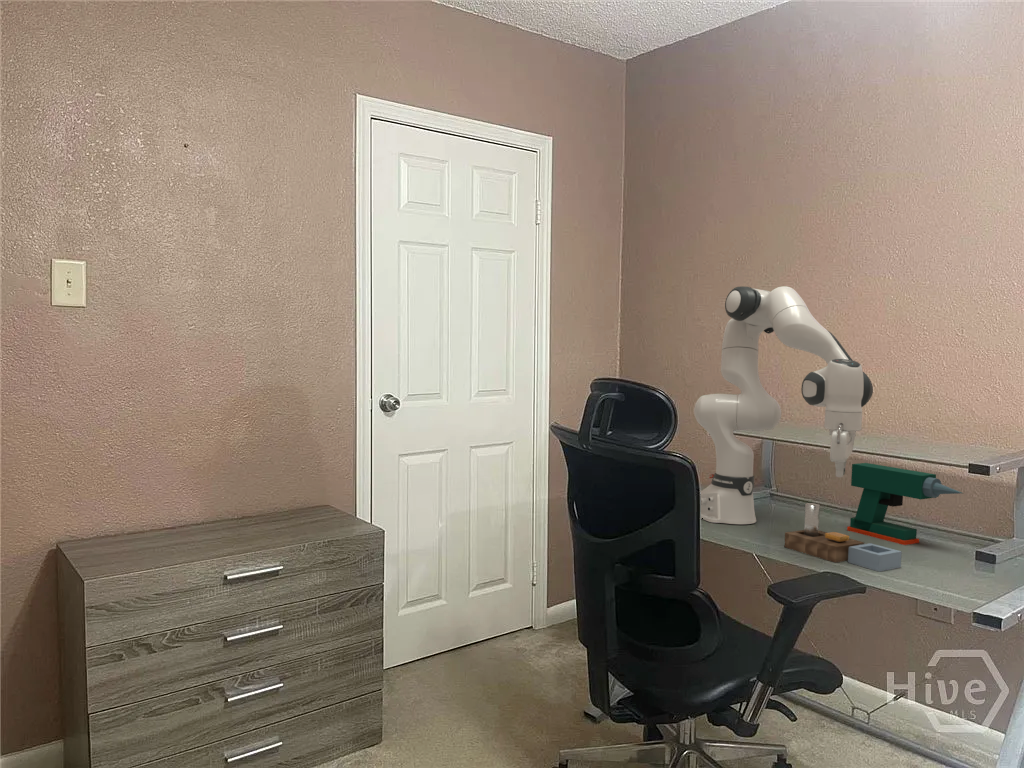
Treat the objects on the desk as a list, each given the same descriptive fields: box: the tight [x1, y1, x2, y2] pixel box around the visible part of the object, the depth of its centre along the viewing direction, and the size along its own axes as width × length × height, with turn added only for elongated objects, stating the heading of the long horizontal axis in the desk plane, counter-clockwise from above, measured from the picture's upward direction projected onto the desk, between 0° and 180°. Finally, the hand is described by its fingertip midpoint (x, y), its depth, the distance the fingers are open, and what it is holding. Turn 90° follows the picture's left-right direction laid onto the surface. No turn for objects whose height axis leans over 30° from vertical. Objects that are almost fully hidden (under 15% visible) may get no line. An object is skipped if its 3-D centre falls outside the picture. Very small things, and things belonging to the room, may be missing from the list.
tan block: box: [825, 531, 850, 543], centre depth 200 cm, size 4×4×5 cm
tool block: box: [784, 529, 865, 564], centre depth 204 cm, size 16×11×4 cm
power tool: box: [846, 462, 963, 546], centre depth 217 cm, size 32×7×20 cm, turn 30°
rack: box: [847, 543, 903, 573], centre depth 193 cm, size 9×9×4 cm
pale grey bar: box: [803, 502, 821, 537], centre depth 207 cm, size 4×4×12 cm
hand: (840, 475), depth 199 cm, fingers open, 3 cm apart
